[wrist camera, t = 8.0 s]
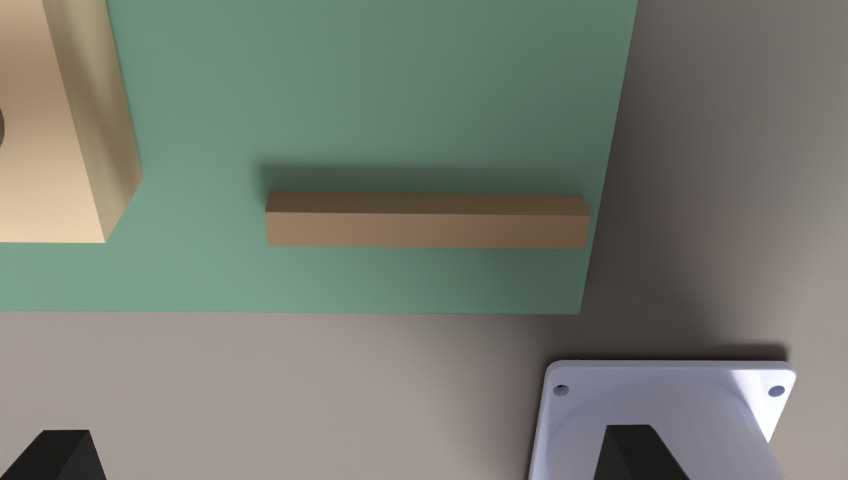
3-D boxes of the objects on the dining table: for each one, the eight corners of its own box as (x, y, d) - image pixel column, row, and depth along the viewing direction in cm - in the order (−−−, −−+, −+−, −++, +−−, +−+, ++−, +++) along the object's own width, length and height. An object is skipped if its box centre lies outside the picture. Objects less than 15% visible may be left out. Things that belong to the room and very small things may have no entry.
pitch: (573, 293, 22) (586, 337, 20) (-216, 287, 21) (-268, 333, 20) (685, -343, 14) (724, -354, 12) (-609, -389, 13) (-757, -407, 11)
